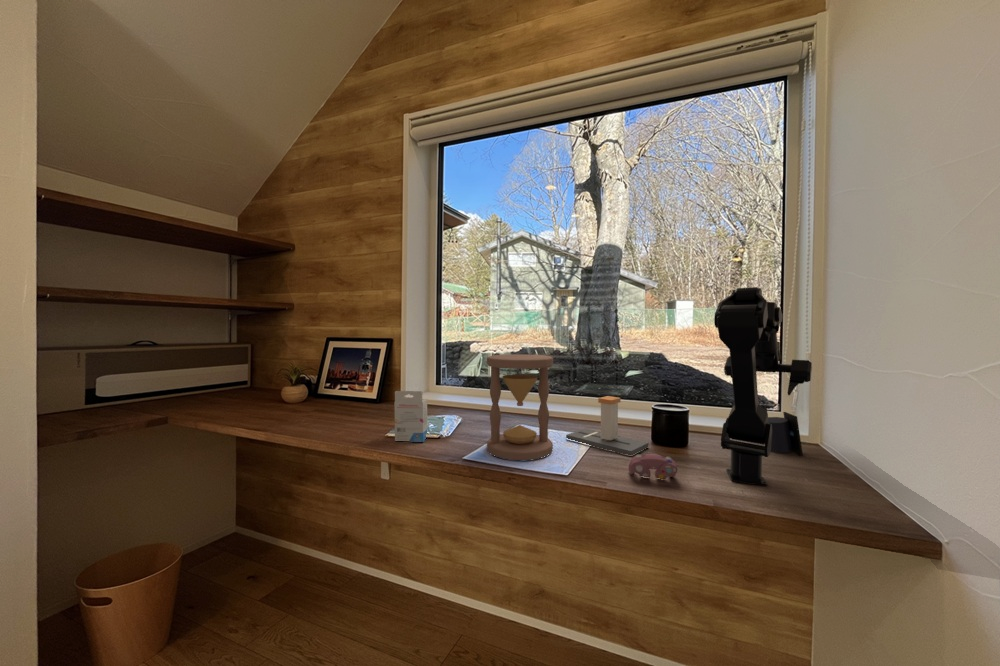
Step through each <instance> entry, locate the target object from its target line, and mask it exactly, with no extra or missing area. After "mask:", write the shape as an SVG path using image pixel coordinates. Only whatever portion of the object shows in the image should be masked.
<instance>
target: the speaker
mask: <svg viewBox="0 0 1000 666" xmlns="http://www.w3.org/2000/svg"><path fill="white" fill-rule="evenodd" d="M798 420H799V419H798V416H797V415H794V414H791V413H789V412H787V411H783V417H781V416H780V417H779V416H768V421H769V424H772V442H771V453H776V454H788V453H790V452H792V453H794V454H796V455H797V454H798V456H799V457H804V454H803V448H802V442H801V441H802V439H801V434H800V428H799V421H798Z"/></svg>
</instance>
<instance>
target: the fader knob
mask: <svg viewBox="0 0 1000 666" xmlns="http://www.w3.org/2000/svg"><path fill="white" fill-rule="evenodd" d="M621 399H622V398H621V397H618V396H617V397H616V396H611V395H606V396H602V397H598V399H597V400H598V402H597V403H598V404H599V403H600V432H601V439H606V440H610V441H611V440H613V439H616V438H618V436H619V434H618V432H619V420H618V419H619V404H620V403H622V401H621Z"/></svg>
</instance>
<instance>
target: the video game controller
mask: <svg viewBox="0 0 1000 666" xmlns="http://www.w3.org/2000/svg"><path fill="white" fill-rule="evenodd" d="M651 470H655V471H654V476H655V479H656V478H660V479H665V480H667V478H668V477H670V478H671V477H673V478H675V476H676V475H677V473H678V465H677V464H676V461H674V459H672V458H671V456H663V455H660V454H657V453H647V454H640V453H638V454H636V455H634V456H632V457H631V459H630V462H629V464H628V472H629V474H630V473H631V474H630V475H634V474H638V476H644V477H650V478H651V476H652V474H651Z"/></svg>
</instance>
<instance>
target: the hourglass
mask: <svg viewBox="0 0 1000 666" xmlns="http://www.w3.org/2000/svg"><path fill="white" fill-rule="evenodd" d="M486 364H487V366H488V367H490V385H489V395H490V399H491V403H492V404H491V408H490V412H489V421H490V438H489V439H488V440H487V441H486V448H487V449H486V450H487V452H489V453H488V454H490V453H491V454H492V455H495V456H497V457H500V458H504V459H503V460H505V459H510V460H509V461H511V460H530V461H532V460H531V459H538V458H541V457H544V456H547V455H548V454H550V453H551V452H553V450H552V449H554V443H553V441H552V440H551V439H550V438H549V429H548V428H549V421H550V411H549V407H548V404H547V403H548V398H549V394H550V383H549V368H550V367H552V366H553V365H554V357H552V356H549V355H544V354H543V355H542V354H528V353H527V354H525V353H524V354H522V353H521V354H519V353H517V354H514V353H513V354H511V353H510V354H495V355H489V356H487V357H486ZM500 369H508V370H509V369H512V370H513V369H514V370H518V369H519V370H530V369H531V370H533V369H535V370H536V369H539V377H538V375H534V374H523V373H522V374H517V373H516V374H512V373H511V374H506V375H502V376H501V377H502V379H503V382H504V383H505V385H506V387H507V388H508V390H509V391H510V393H511V394H512V396H513V397H514V398H515V400H516V402H517V403H516V406H517V407H523V406H524V400H525V399H526V397H527V396H528V395H529V394H530V391H531V390H532V389H533V387H534V385H535V384H536V383H537V380H538V378H539V380H538V381H539V382H538V385H537V393H538V396H539V397H538V398H539V401H540V405H539V408H538V413H537V418H538V427H539V429H538V430H539V431H538V432H539V433H538V432H536V431H535V430H534V429H531V428H529V427H526V426H524V425H521V424H519V425H517V426H514V427H511V428H508V429H506V430H503V433H502V434H500V433H501V432H500V428H501V427H500V426H501V420H502V419H501V418H502V413H501V409H500V406H499V405H500V404H499V402H500V398H501V394H502V388H501V387H502V385H501V381H500V378H501V377H500V375H501V373H500ZM537 433H538V434H537ZM491 454H490V455H491ZM551 454H552V453H551ZM551 454H550V455H551ZM548 456H549V455H548ZM548 456H547V457H548ZM497 457H496V458H497ZM500 458H499V459H500ZM541 459H542V458H541ZM538 460H539V459H538Z"/></svg>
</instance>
